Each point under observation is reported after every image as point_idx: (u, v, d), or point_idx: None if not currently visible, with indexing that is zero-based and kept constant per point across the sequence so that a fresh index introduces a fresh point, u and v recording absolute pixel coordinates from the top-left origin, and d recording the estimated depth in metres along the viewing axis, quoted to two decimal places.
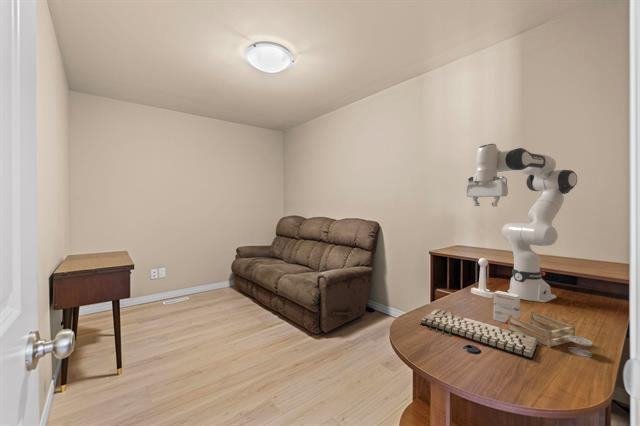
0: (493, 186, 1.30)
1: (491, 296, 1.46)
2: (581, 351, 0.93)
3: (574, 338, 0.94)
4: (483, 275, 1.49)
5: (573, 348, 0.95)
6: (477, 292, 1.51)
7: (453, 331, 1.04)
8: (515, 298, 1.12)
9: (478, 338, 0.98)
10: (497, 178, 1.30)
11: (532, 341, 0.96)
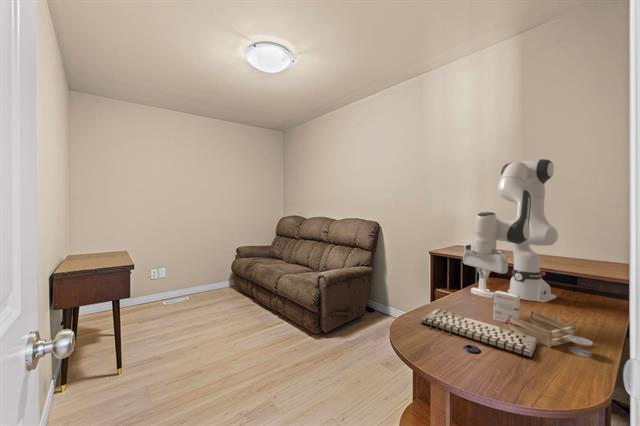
0: (492, 260, 1.21)
1: (491, 296, 1.46)
2: (581, 351, 0.93)
3: (574, 338, 0.94)
4: None
5: (573, 348, 0.95)
6: (477, 292, 1.51)
7: (453, 330, 1.04)
8: (515, 298, 1.12)
9: (478, 337, 0.98)
10: (496, 252, 1.20)
11: (532, 341, 0.96)
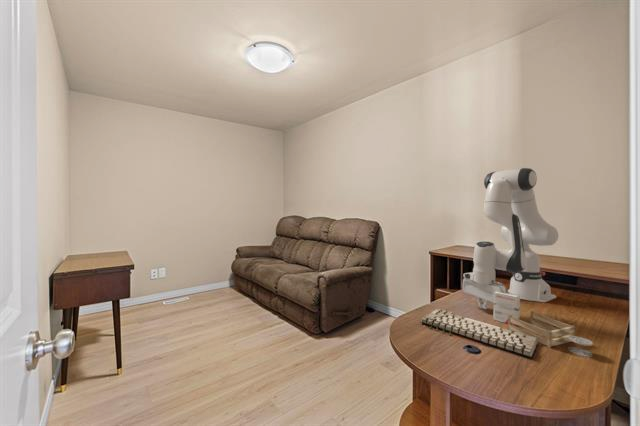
0: (491, 291, 1.21)
1: None
2: (581, 351, 0.93)
3: (574, 338, 0.94)
4: None
5: (573, 348, 0.95)
6: None
7: (453, 330, 1.04)
8: (515, 298, 1.12)
9: (478, 337, 0.99)
10: (495, 283, 1.21)
11: (532, 341, 0.96)
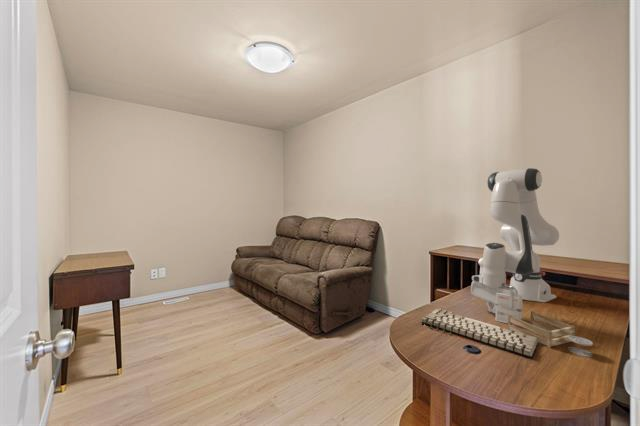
0: None
1: None
2: (581, 351, 0.93)
3: (574, 338, 0.94)
4: None
5: (573, 348, 0.95)
6: None
7: (454, 330, 1.05)
8: (517, 299, 1.11)
9: (478, 337, 0.99)
10: (506, 286, 1.16)
11: (532, 341, 0.96)
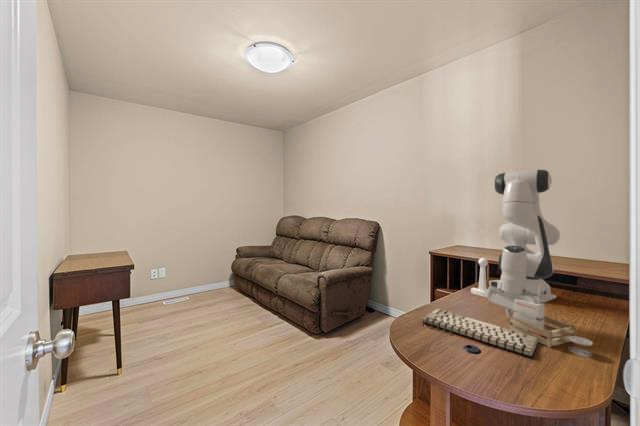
0: None
1: None
2: (581, 351, 0.93)
3: (574, 338, 0.94)
4: (483, 275, 1.49)
5: (573, 348, 0.95)
6: (477, 292, 1.51)
7: (454, 330, 1.05)
8: (537, 307, 1.03)
9: (479, 337, 0.99)
10: (528, 293, 1.08)
11: (532, 341, 0.96)
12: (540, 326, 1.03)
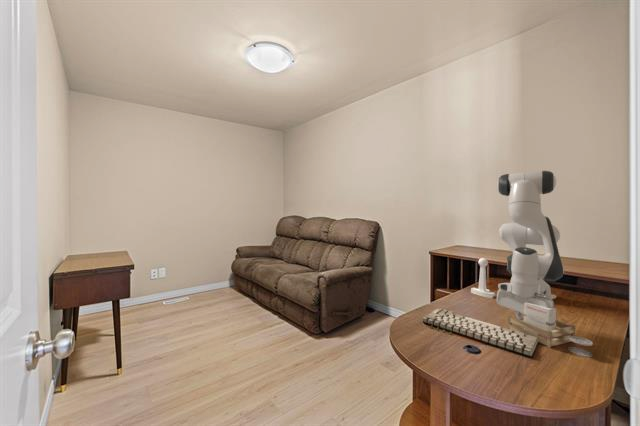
0: None
1: (491, 296, 1.46)
2: (581, 351, 0.93)
3: (574, 338, 0.94)
4: (483, 275, 1.49)
5: (573, 348, 0.95)
6: (477, 292, 1.51)
7: (454, 330, 1.05)
8: (547, 311, 0.99)
9: (479, 337, 0.99)
10: (540, 296, 1.04)
11: (532, 340, 0.96)
12: None
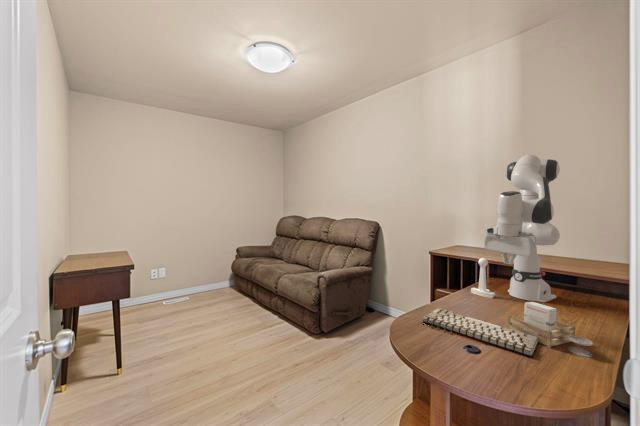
0: (518, 243, 1.10)
1: (491, 296, 1.46)
2: (581, 351, 0.93)
3: (574, 338, 0.94)
4: (483, 275, 1.49)
5: (573, 348, 0.95)
6: (477, 292, 1.51)
7: (454, 329, 1.05)
8: (547, 311, 0.99)
9: (479, 336, 0.99)
10: (523, 234, 1.09)
11: (533, 340, 0.97)
12: None
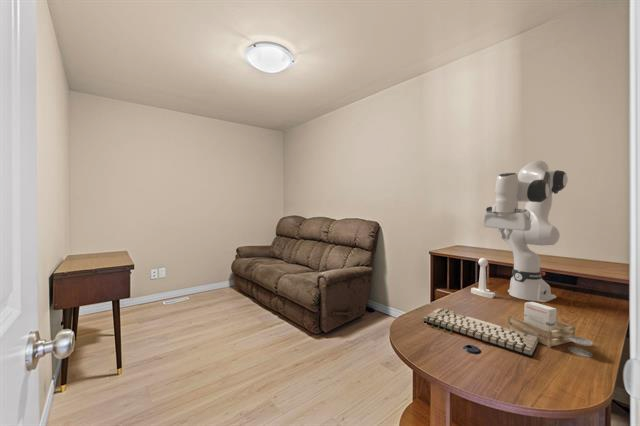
0: (514, 219, 1.22)
1: (491, 296, 1.46)
2: (581, 351, 0.93)
3: (574, 338, 0.94)
4: (483, 275, 1.49)
5: (573, 348, 0.95)
6: (477, 292, 1.51)
7: (455, 329, 1.06)
8: (547, 311, 0.99)
9: (479, 336, 1.00)
10: (519, 210, 1.21)
11: (533, 340, 0.97)
12: None
